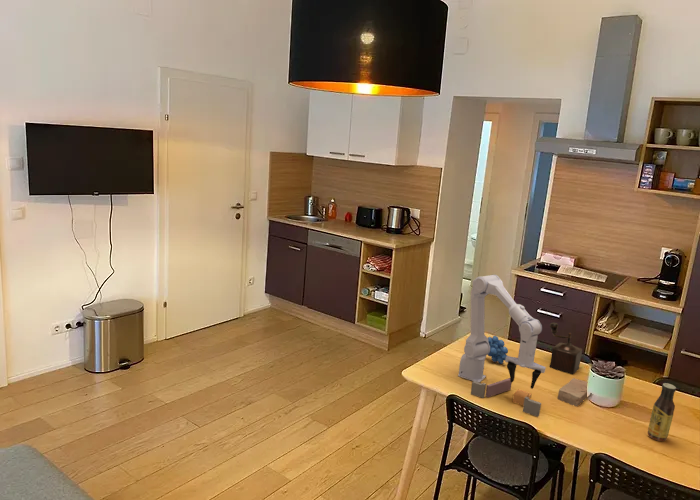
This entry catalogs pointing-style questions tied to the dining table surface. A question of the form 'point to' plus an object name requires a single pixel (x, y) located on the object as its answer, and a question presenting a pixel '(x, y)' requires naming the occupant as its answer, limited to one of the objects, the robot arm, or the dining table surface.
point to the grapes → (497, 349)
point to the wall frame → (529, 405)
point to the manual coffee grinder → (565, 354)
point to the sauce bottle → (662, 414)
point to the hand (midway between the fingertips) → (522, 384)
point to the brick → (573, 392)
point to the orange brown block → (520, 396)
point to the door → (498, 387)
